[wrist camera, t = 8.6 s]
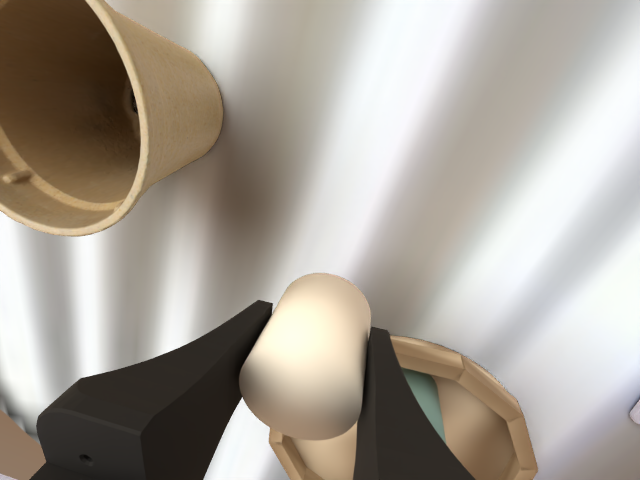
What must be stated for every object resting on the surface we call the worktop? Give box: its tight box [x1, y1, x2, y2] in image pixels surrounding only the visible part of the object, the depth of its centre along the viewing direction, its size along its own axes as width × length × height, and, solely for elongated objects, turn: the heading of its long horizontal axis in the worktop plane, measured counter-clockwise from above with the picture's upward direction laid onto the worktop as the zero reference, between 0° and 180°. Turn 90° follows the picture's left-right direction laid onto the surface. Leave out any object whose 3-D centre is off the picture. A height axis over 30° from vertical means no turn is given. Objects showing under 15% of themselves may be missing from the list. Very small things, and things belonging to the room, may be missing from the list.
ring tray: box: [269, 336, 538, 480], centre depth 24 cm, size 18×18×2 cm
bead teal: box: [401, 367, 446, 443], centre depth 21 cm, size 4×4×4 cm
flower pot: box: [0, 0, 223, 236], centre depth 15 cm, size 9×9×9 cm
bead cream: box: [239, 273, 371, 441], centre depth 13 cm, size 4×4×4 cm
